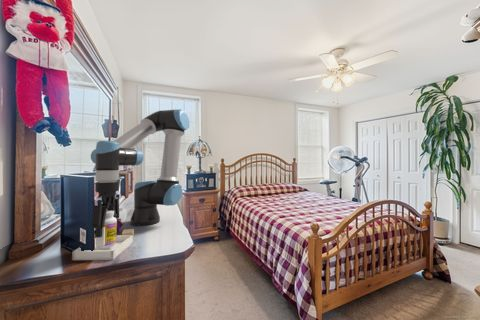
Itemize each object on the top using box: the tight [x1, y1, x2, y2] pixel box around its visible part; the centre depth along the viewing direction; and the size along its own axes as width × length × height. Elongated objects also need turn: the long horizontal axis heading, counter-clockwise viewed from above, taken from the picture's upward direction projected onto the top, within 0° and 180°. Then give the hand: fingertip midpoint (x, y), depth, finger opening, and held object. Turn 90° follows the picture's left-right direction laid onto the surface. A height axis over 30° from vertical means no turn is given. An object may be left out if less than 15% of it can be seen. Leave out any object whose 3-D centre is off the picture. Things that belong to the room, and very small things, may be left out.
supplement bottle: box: [96, 210, 118, 248], centre depth 80 cm, size 7×7×13 cm
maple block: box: [121, 228, 135, 236], centre depth 91 cm, size 4×4×4 cm
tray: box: [71, 234, 135, 261], centre depth 80 cm, size 16×14×3 cm
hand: (106, 241), depth 80 cm, fingers closed on supplement bottle, 7 cm apart
